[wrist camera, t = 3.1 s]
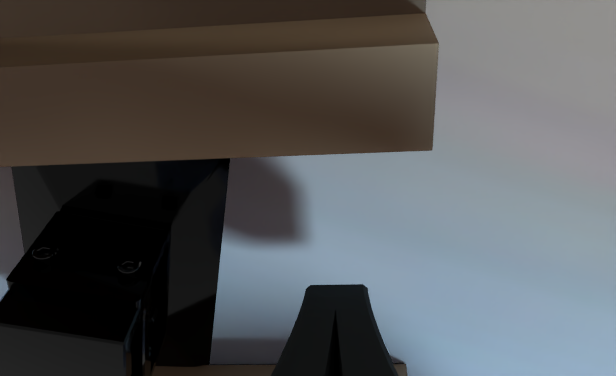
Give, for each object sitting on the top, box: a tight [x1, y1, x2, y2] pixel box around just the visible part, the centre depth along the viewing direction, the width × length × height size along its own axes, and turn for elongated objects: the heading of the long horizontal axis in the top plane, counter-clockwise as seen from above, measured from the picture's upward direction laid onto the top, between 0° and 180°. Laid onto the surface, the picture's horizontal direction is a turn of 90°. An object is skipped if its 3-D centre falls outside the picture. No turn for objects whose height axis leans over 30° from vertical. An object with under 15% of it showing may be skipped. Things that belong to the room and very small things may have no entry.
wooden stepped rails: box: [0, 0, 439, 376], centre depth 14 cm, size 21×16×2 cm
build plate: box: [0, 158, 230, 376], centre depth 14 cm, size 12×7×5 cm, turn 170°
